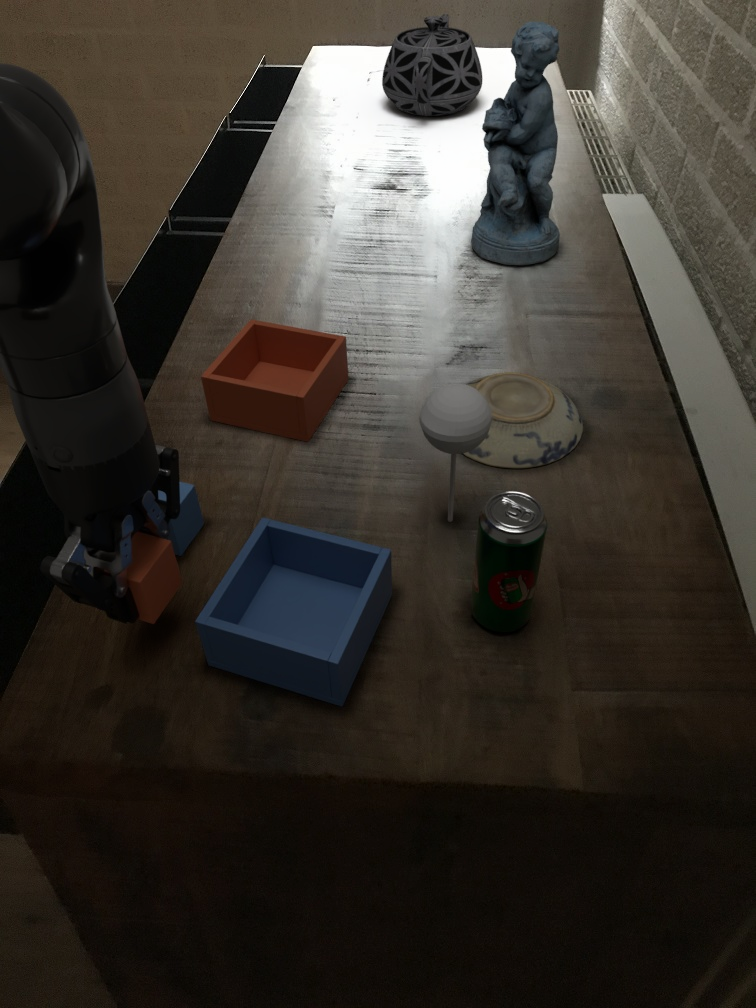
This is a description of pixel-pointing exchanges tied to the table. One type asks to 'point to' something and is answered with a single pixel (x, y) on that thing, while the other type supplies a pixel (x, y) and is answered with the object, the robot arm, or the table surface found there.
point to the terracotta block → (152, 575)
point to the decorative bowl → (526, 422)
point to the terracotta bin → (276, 379)
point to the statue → (521, 158)
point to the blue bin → (297, 610)
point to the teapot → (432, 69)
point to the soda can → (507, 560)
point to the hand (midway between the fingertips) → (143, 593)
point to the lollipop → (455, 424)
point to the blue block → (185, 518)
